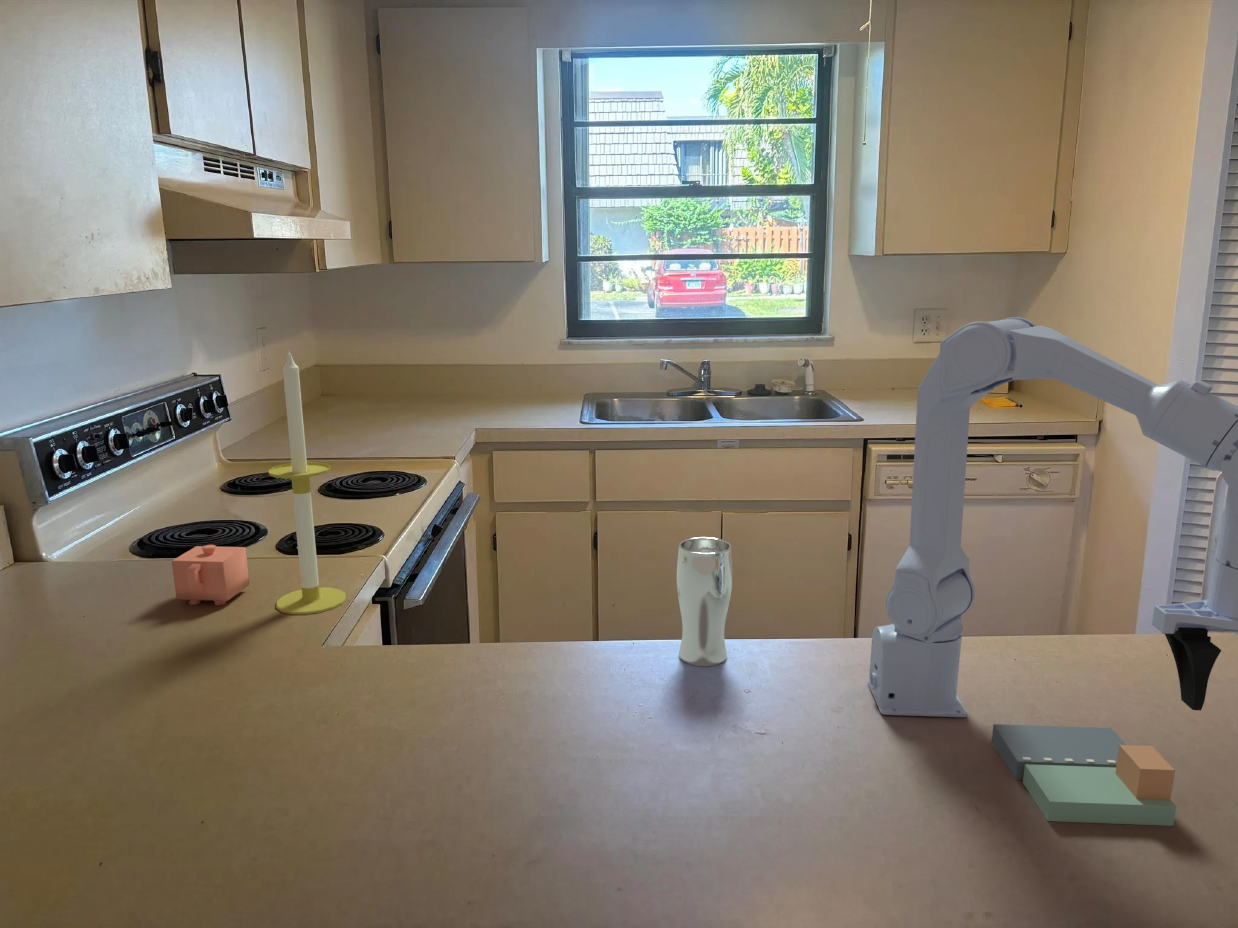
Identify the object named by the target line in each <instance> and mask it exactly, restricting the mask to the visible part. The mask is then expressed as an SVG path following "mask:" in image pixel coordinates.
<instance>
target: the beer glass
mask: <svg viewBox="0 0 1238 928" xmlns="http://www.w3.org/2000/svg"><path fill="white" fill-rule="evenodd" d="M677 555H678V556H677V564H676V590H677V597H678V598H677V599H678V604H679V605H678V606H679V610H680V616H681V622H682V632H681V633H682V637H681V642H680V645H679V652H678V656H679V658H680V659H681V660H682V662H684V663H686V664H689V665H692V666H694V667H695V666H696V667H705V668H706V667H707V668H708V667H714V666H718V665H720V664H722V663H724V662H725V661H726V659H727V656H728V655H727V647H726V640H725V627H726V626H725V625H726V622H727V621H726V620H727V615H728V610H729V605H730V601H731V596H732V595H731V594H732V589H733V556H732V555H733V553H732V544H731V543H730V542H729V541H726V540H724V539H722V538H719V537H718V538H717V537H711V536H710V537H709V536H699V537H696V536H695V537H690V538H686V539H683V540H681V541H680V542H679V543H678V554H677Z"/></svg>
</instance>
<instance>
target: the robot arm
mask: <svg viewBox="0 0 1238 928" xmlns="http://www.w3.org/2000/svg"><path fill="white" fill-rule="evenodd" d="M939 346H940V347H939V353H938V355H937V357H936V358H935V359H934V361H933V363H932V364H931V365H930V368H929V369H928V371H927V373H925V375H924V377H923V379H922V381H921V382H920V384H919V385H918V390H917V399H916V416H915V431H914V432H915V435H914V436H915V437H914V452H913V453H914V454H913V456H914V457H913V470H912V471H913V474H912V491H911V509H910V510H911V511H910V513H911V514H910V527H909V528H910V530H909V533H910V534H909V544H908V545H909V546H908V547H907V549H906V551H905V553H904V554H903V556H901V557H902V558H901V559H900V560H899V562H898V564H897V565H896V568H895V573H894V575H895V576H894V581H893V584H892V586H891V588H890V590H889V591H887V595H886V598H885V609H886V613H887V616H888V618H889V621H890V622H891V624H886V625H879V626H875V627H874V628H873V630H872V636H871V645H870V646H871V647H870V662H869V675H868V677H869V678H868V679H867V684H868V686H869V689H870V691H871V694H872V697H873V698H874V700H875V703H876V705H877V707H878V710H879V712H880V713H881V714H882V715H884V716H908V717H909V716H913V717H919V716H920V717H940V718H941V717H946V718H948V717H949V718H967V717H968V714H969V713H968V711H967V710H966V707H965V705H963V702H962V701H961V700H960V698H959V697H958V695H957V692H958V684H959V683H958V682H959V681H958V680H959V671H960V659H961V650H962V649H961V648H962V638H963V614H966V613H967V612H968V611H969V610H970V609H971V608H972V606H973V605H974V602H975V599H976V588H975V585H974V582H973V580H972V577H971V575H970V570H969V568H970V558H969V556H968V554H967V553H966V551H964V549H963V548H962V533H963V532H962V531H963V517H964V504H965V503H964V501H965V488H966V473H967V472H966V471H967V460H968V459H967V457H968V445H969V444H968V442H969V427H970V414H971V413H970V411H971V407H972V406H974V405H975V404H977V402H979V401H980V400H981V399H983V398H984V397H985V396H986V395H988V394H989V393H990V392H991V391H993V390H994V389H995V388H998V387H999V386H1002V385H1004V384H1006V383H1009V382H1012V381H1023V380H1024V381H1025V380H1041V379H1044V380H1045V379H1053V380H1056V381H1058V382H1061V383H1064V384H1066V385H1068V386H1070V387H1071V388H1075V389H1077V390H1079V391H1081V392H1083V393H1085V394H1088V395H1089V396H1092V397H1094V398H1096V399H1098V400H1101V401H1103V402H1105V403H1107V404H1110V405H1112V406H1114V407H1116V408H1119V409H1121V410H1123V411H1125V412H1127V413H1129V414H1131V415H1134V416H1135V417H1136V420H1137V422H1138V425H1139V428H1140V431H1141V433H1142V435H1143V436H1144V437H1146V438H1148V439H1150V440H1152V441H1154V442H1156V443H1158V444H1160V445H1162V446H1164V447H1166V448H1167V449H1170V450H1171V451H1174V452H1176V453H1178V454H1179V455H1182V456H1183V457H1186V458H1187V459H1189V460H1191V461H1193V462H1195V463H1197V464H1198V465H1200V466H1203V467H1205V468H1207V469H1208V470H1210V471H1213V472H1215V471H1217V472H1221V475H1222V477H1223V479H1224V481H1225V484H1226V485H1227V491H1226V499H1225V504H1224V506H1223V508H1222V511H1221V517H1220V523H1219V529H1218V533H1217V534H1218V535H1217V543H1216V548H1215V553H1214V554H1215V555H1214V560H1213V566H1212V572H1211V578H1210V584H1209V590H1208V597H1207V599H1201V600H1195V601H1188V602H1182V603H1181V602H1180V603H1173V604H1171V603H1170V604H1154V607H1153V613H1152V618H1151V619H1152V621H1151V625H1152V626H1153V627H1154V628H1155V629H1157V630H1158V631H1160V632H1161V633H1162V634H1164V636H1165V638H1166V640H1167V642H1168V644H1169V648H1170V650H1171V653H1172V655H1173V659H1174V662H1175V666H1176V669H1177V674H1178V675H1177V676H1178V682H1179V690H1180V700H1181V701H1182V702H1183V703H1184V704H1185V705H1186V706H1188V707H1189V708H1190V709H1191V710H1192V711H1202V709H1203V706H1204V704H1205V702H1206V701H1205V699H1206V696H1207V690H1208V689H1207V688H1208V682H1209V678H1210V676H1211V673H1212V670H1213V667H1214V665H1215V663H1216V661H1217V659H1218V658H1219V655H1220V653H1221V652H1222V649H1221V648H1220V647H1219V646H1217V645H1216V644H1214V643H1213V642H1212V637H1211V636H1209V635H1208V634H1209V632H1211V633H1215V632H1216V633H1217V632H1218V633H1221V632H1222V633H1238V405H1236V404H1234V403H1232V402H1230V401H1229V400H1225V399H1223V398H1221V397H1220V396H1217V395H1215V394H1213V393H1211V391H1212V390H1213V387H1214V386H1213V385H1212V384H1209V383H1207V382H1205V381H1203V380H1201V379H1200V380H1199V379H1198V380H1196V381H1194V382H1193V383H1189V382H1187V381H1186V380H1183V379H1180V380H1179V379H1178V380H1174V381H1171V382H1167V383H1164V384H1157V383H1155V382H1154V381H1152V380H1150V379H1148V378H1146V377H1144V376H1142V375H1141V374H1138V373H1137V372H1135V371H1134V370H1131V369H1129V368H1127V367H1125V366H1123V365H1121V364H1120V363H1118V362H1116V361H1114V360H1113V359H1111V358H1108V357H1107V356H1105V355H1102V354H1100V353H1099V352H1097V351H1095V350H1094V349H1091V348H1090V347H1088V346H1086V345H1084V344H1082V343H1081V342H1078V341H1077V340H1074V339H1072V338H1071V337H1069V336H1067V335H1065V334H1063V333H1061V332H1059V331H1058V330H1056V329H1055V328H1054V329H1053V328H1052V327H1047V326H1044V325H1037V324H1035V323H1034V322H1032V321H1031V320H1029V319H1027V318H1025V317H1024V318H1023V317H1019V316H1017V317H1016V316H1012V317H1006V318H1003V319H1001V320H994V321H993V320H992V321H974V322H970V323H969V322H968V323H967V324H965V325H962V326H961V327H959V328H958V329H957V330H956V331H954V332H953V333H952V334H950V335H949V336H947V337H946V338H944V339H943V340H941V341H940V344H939Z"/></svg>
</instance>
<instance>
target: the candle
mask: <svg viewBox="0 0 1238 928" xmlns="http://www.w3.org/2000/svg"><path fill="white" fill-rule="evenodd" d="M287 351H288V352H287V356H286V361H285V364H284V366H283V367H282V376H283V387H284V396H285V397H284V398H285V399H284V400H285V407H286V409H285V410H286V420H287V428H288V429H287V430H288V439H289V441H288V442H289V451H290V463H285V464H284V463H283V464H279V465H276V466H273V467H271V468H269V469H268V475H269V476H270V477H273V478H277V479H291V487H292V490H291V491H292V499H293V509H294V521H295V522H294V523H295V532H296V541H297V551H298V553H297V554H298V555H297V556H298V563H299V574H300V575H299V576H300V585H301V589H299V590H294V591H291V592H289V593H287V594H283V595H282V596H281V597H279V599H277V601H276V603H275V604H276V605H275V607H276V609H277V610H278V611H280V612H281V613H284V614H287V615H305V616H306V615H313V614H321V613H324V612H327V611H330V610H333V609H336V608H337V607H340V606H341V605H343V604H344V602H345V601H346V600H347V596H346V595H347V594H346V592H345V591H343V590H341V589H339V588H335V587H326V586H325V587H324V586H323V587H322V586H321V587H320V582H319V571H318V570H319V569H318V559H317V558H318V557H317V548H316V547H317V546H316V535H315V526H314V525H315V524H314V515H313V513H314V512H313V502H312V492H311V490H312V489H311V479H310V477H316V476H317V477H318V476H321V475H323V474H326V473H328V472H329V471H331V464H328V463H326V462H319V461H308V459H307V451H306V450H307V449H306V448H307V447H306V438H305V427H304V417H303V416H304V415H303V403H302V391H301V390H302V389H301V382H300V368H299V366H298V365H297V364H296V363H295V361H294V358H293V356H292V353H291V352H290V349H288V350H287Z"/></svg>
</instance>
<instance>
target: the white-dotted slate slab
mask: <svg viewBox="0 0 1238 928" xmlns="http://www.w3.org/2000/svg"><path fill="white" fill-rule="evenodd" d="M991 743H992V744H993V746H994V748H995V749H996V750H997V752H998V754H999V756H1000V757H1001V758H1002V760H1003V762H1004V764H1005V765H1006V767H1007V768H1008V770H1009V771H1010V773H1011V774H1012V776H1013V777H1014V779H1015V780H1016V781H1017V780H1020V781H1023V777H1024V768H1025V764H1029V765H1058V766H1087V767H1115V768H1116V764H1117V757H1118V750H1119V745H1127V743H1126V742H1125V741H1124V740H1123V739H1122V738H1121V737H1120V736H1119V734H1117V733H1116V731H1115V730H1114V729H1113V728H1112V727H1095V726H1094V727H1090V726H1087V727H1086V726H1059V725H1057V726H1056V725H1033V724H1032V725H1028V724H999V723H998V724H995V723H994V724H993V725H992V733H991Z"/></svg>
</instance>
